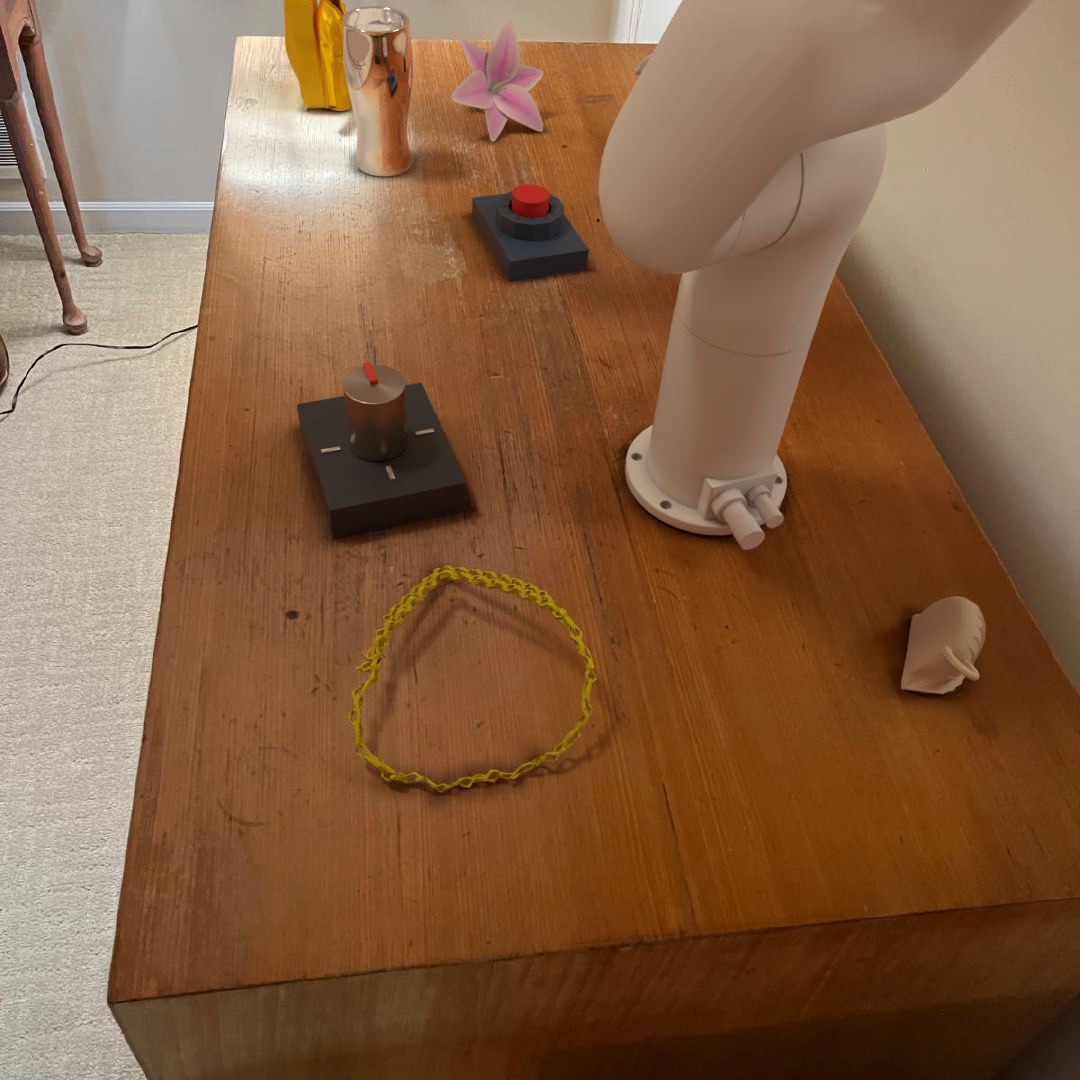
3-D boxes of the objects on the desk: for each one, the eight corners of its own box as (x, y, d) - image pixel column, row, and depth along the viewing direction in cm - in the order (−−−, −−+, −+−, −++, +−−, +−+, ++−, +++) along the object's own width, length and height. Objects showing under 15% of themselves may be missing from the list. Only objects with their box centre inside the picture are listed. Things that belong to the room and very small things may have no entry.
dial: (414, 455, 76) (412, 394, 71) (356, 466, 75) (350, 405, 70) (399, 417, 78) (396, 356, 74) (343, 428, 77) (336, 366, 73)
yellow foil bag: (353, 137, 115) (337, -83, 99) (282, 134, 114) (254, -87, 98) (363, 69, 127) (350, -136, 111) (299, 66, 126) (276, -141, 110)
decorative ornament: (971, 634, 71) (1001, 584, 67) (957, 727, 66) (989, 679, 62) (913, 614, 72) (939, 565, 68) (894, 705, 67) (922, 656, 63)
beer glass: (400, 184, 108) (393, 38, 97) (340, 170, 109) (327, 24, 98) (425, 155, 113) (422, 13, 102) (368, 142, 114) (358, 0, 103)
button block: (586, 269, 99) (590, 232, 97) (509, 281, 97) (511, 244, 94) (544, 207, 107) (547, 171, 104) (471, 217, 105) (472, 180, 102)
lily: (433, 148, 116) (463, 89, 108) (430, 66, 120) (459, 4, 112) (529, 172, 121) (564, 118, 113) (523, 93, 125) (557, 35, 117)
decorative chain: (437, 570, 72) (429, 527, 69) (635, 635, 68) (636, 593, 64) (313, 760, 63) (295, 721, 59) (532, 851, 58) (526, 815, 55)
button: (553, 216, 99) (554, 200, 98) (518, 221, 98) (519, 205, 97) (540, 198, 101) (542, 182, 100) (506, 202, 100) (507, 186, 99)
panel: (465, 511, 76) (465, 480, 74) (333, 539, 74) (329, 509, 71) (422, 410, 84) (421, 380, 82) (300, 432, 81) (296, 402, 79)
